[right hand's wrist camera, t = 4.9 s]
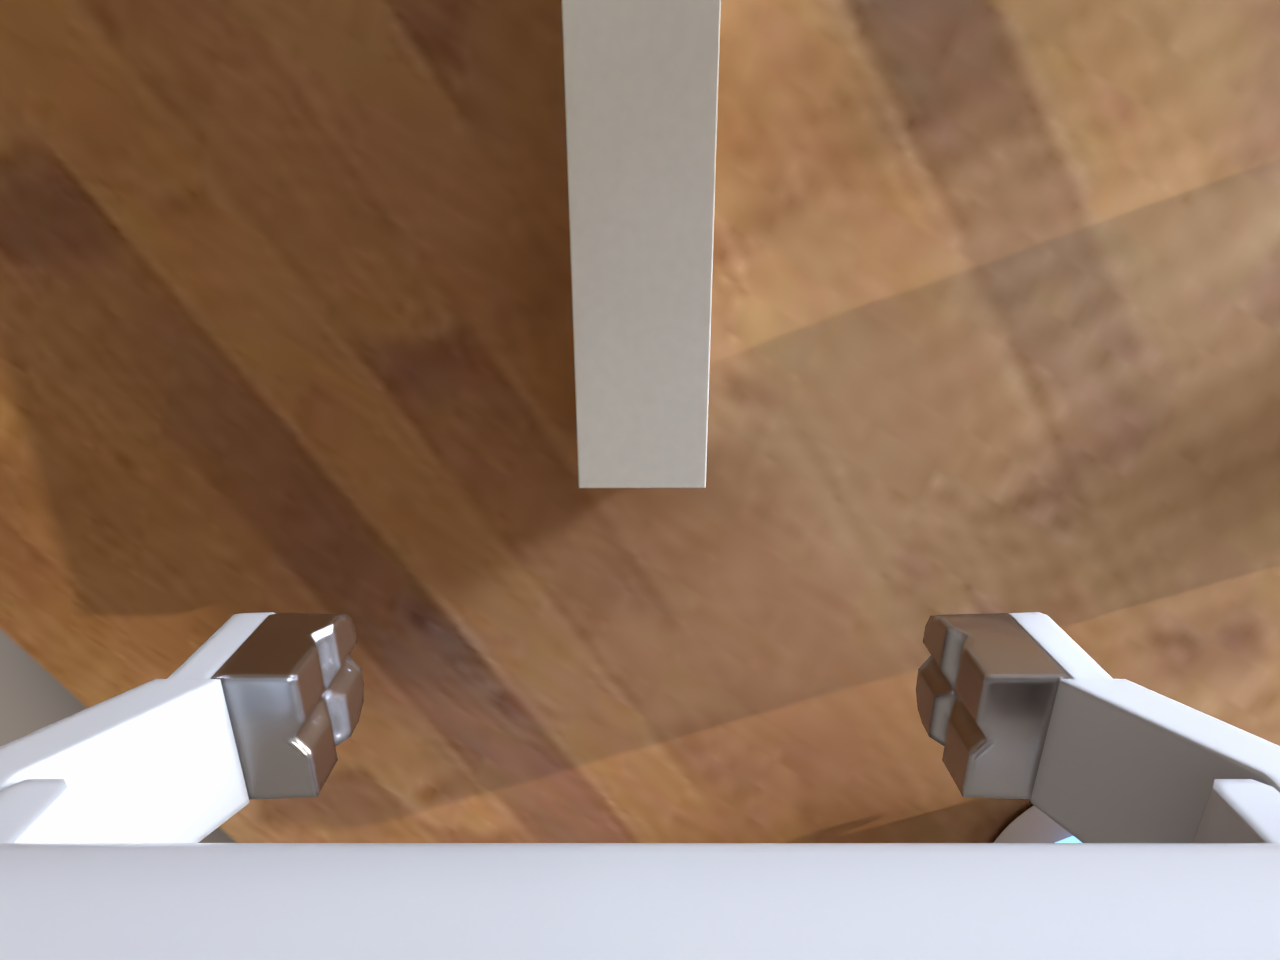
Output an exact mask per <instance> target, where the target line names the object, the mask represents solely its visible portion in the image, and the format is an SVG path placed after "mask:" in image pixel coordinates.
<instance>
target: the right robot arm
mask: <svg viewBox="0 0 1280 960" xmlns="http://www.w3.org/2000/svg"><path fill="white" fill-rule="evenodd" d="M356 643H357V638H356V633H355V628H354V623H353V621H352V620H351V618H350V617H349V616H348V615H347V614H307V613H273V612H264V613H240V614H234V615H232V616H231V617H230V618H229V619H228V620H227V621H226V622H225V623H224V624H223V625H222V626H221V627H220V628H219V629H218V630H217V631H216V632H215V633H214V634H213V635H212V636H211V637H210V638H209V639H208V640H207V641H206V642H205V643H204V644H203V645H201V646H200V647H199V648H198V649H197V650H196V651H195V652H194V653H193V654H192V655H191V656H190V657H189V658H188V659H187V660H186V661H185V662H184V663H183V664H182V665H181V666H180V667H179V668H178V669H177V670H176V671H175V672H174V673H173V674H172V675H170V676H169V677H168V678H167V679H154V680H151V681H149V682H147V683H145V684H142V685H140V686H138V687H135V688H133V689H131V690H128V691H126V692H124V693H122V694H119V695H117V696H115V697H112V698H110V699H108V700H105V701H103V702H101V703H98V704H96V705H94V706H92V707H89V708H87V709H85V710H82V711H80V712H78V713H75V714H73V715H71V716H69V717H66V718H64V719H62V720H59V721H57V722H55V723H52V724H50V725H48V726H45V727H43V728H41V729H39V730H36V731H34V732H32V733H29V734H27V735H25V736H22V737H20V738H18V739H15V740H13V741H11V742H9V743H6V744H4V745H2V746H0V960H1280V746H1278V745H1276V744H1273V743H1271V742H1269V741H1266V740H1264V739H1262V738H1260V737H1257V736H1255V735H1253V734H1250V733H1248V732H1246V731H1243V730H1241V729H1239V728H1237V727H1234V726H1232V725H1230V724H1227V723H1225V722H1223V721H1220V720H1218V719H1216V718H1214V717H1211V716H1209V715H1207V714H1204V713H1202V712H1200V711H1197V710H1195V709H1193V708H1191V707H1188V706H1186V705H1184V704H1181V703H1179V702H1177V701H1174V700H1172V699H1170V698H1168V697H1165V696H1163V695H1161V694H1158V693H1156V692H1154V691H1151V690H1149V689H1147V688H1145V687H1142V686H1140V685H1138V684H1135V683H1133V682H1131V681H1129V680H1126V679H1113V678H1112V677H1111V676H1110V675H1109V674H1107V673H1106V672H1105V671H1104V670H1103V669H1102V668H1101V667H1100V666H1099V665H1098V664H1097V663H1096V662H1095V661H1094V660H1093V659H1092V658H1091V657H1090V656H1089V655H1088V654H1087V653H1086V652H1085V651H1084V650H1083V649H1082V648H1081V647H1080V646H1079V645H1078V644H1077V643H1076V642H1075V641H1073V640H1072V639H1071V638H1070V637H1069V636H1068V635H1067V634H1066V633H1065V632H1064V631H1063V630H1062V629H1061V628H1060V627H1059V626H1058V625H1057V624H1056V623H1055V622H1054V621H1053V620H1052V619H1051V618H1050V617H1049V616H1048V615H1045V614H1042V613H1039V612H1028V613H997V614H957V615H933V616H930V618H929V620H928V622H927V624H926V626H925V632H924V638H923V643H924V644H925V646H926V647H927V649H928V651H929V652H930V654H931V656H930V657H929V659H928V660H927V661H926V662H925V663H924V664H923V665H922V666H921V667H920V668H919V669H918V677H917V685H916V695H917V705H918V711H919V714H920V718H921V721H922V724H923V726H924V727H925V729H926V731H927V733H928V735H929V737H931V738H932V739H934V740H935V741H937V742H938V743H940V744H942V745H943V746H945V747H944V753H943V759H942V760H943V762H944V764H945V766H946V767H947V769H948V771H949V773H950V775H951V776H952V778H953V780H954V782H955V783H956V785H957V787H958V789H959V790H960V792H961V794H962V796H963V797H965V798H1002V799H1031V800H1030V803H1032V804H1033V806H1032V807H1030V808H1029V809H1027V810H1026V811H1025V812H1023V813H1022V814H1021V815H1019V816H1018V817H1017V818H1016V819H1015V820H1014V821H1012V822H1011V823H1010V824H1009V825H1008V826H1007V827H1006V828H1005V829H1004V830H1003V831H1002V833H1001V834H1000V835H999V836H998V837H997V839H996V840H995V841H994V843H198V842H200V841H201V840H202V839H203V838H205V837H206V836H207V835H209V834H210V833H211V832H212V831H214V830H215V829H216V828H218V827H219V826H220V825H222V824H223V823H224V822H225V821H227V820H228V819H229V818H231V817H232V816H233V815H234V814H236V813H237V812H238V811H240V810H241V809H242V808H243V807H245V806H246V805H247V804H249V802H250V801H249V799H277V798H312V797H317V796H318V794H319V792H320V791H321V789H322V787H323V785H324V783H325V782H326V780H327V778H328V776H329V775H330V773H331V771H332V769H333V767H334V766H335V764H336V762H337V760H338V759H337V753H336V747H335V746H337V745H338V744H340V743H342V742H343V741H345V740H346V739H348V738H349V737H351V735H352V733H353V731H354V729H355V727H356V725H357V724H358V722H359V718H360V713H361V709H362V705H363V696H364V683H363V676H362V669H361V668H360V667H359V666H358V665H357V664H356V663H355V662H354V661H353V660H352V659H351V657H350V656H349V654H350V652H351V651H352V649H353V647H354V646H355V644H356Z"/></svg>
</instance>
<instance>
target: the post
mask: <svg viewBox="0 0 1280 960" xmlns="http://www.w3.org/2000/svg"><path fill="white" fill-rule="evenodd" d="M561 6H562V34H563V62H564V91H565V119H566V147H567V176H568V204H569V232H570V261H571V289H572V318H573V346H574V374H575V403H576V431H577V459H578V487H579V488H705V487H706V461H707V429H708V396H709V364H710V332H711V300H712V268H713V236H714V204H715V172H716V140H717V108H718V76H719V44H720V12H721V0H561Z"/></svg>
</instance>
